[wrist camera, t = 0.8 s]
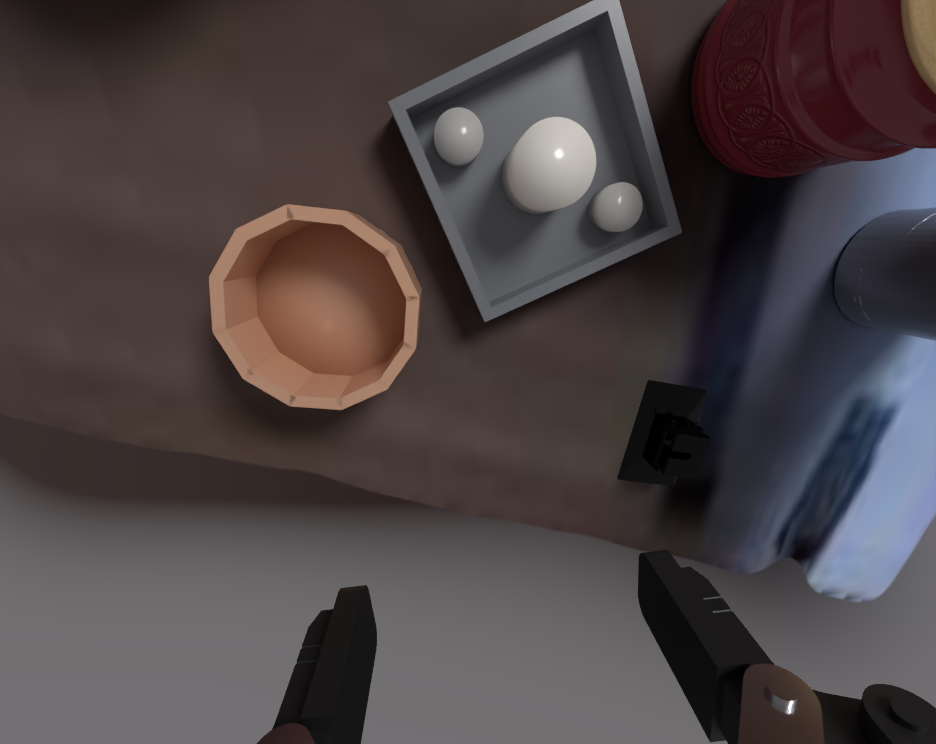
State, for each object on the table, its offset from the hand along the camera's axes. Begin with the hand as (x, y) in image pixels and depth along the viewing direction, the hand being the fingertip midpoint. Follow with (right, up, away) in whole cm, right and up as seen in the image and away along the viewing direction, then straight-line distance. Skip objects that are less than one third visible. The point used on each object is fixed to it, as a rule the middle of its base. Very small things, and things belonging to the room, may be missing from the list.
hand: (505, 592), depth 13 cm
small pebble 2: (+9, +18, +19) cm, 28 cm away
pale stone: (+4, +20, +18) cm, 27 cm away
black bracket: (+16, +1, +26) cm, 30 cm away
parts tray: (+4, +20, +18) cm, 28 cm away
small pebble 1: (-2, +22, +17) cm, 28 cm away
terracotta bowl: (-11, +12, +20) cm, 26 cm away
